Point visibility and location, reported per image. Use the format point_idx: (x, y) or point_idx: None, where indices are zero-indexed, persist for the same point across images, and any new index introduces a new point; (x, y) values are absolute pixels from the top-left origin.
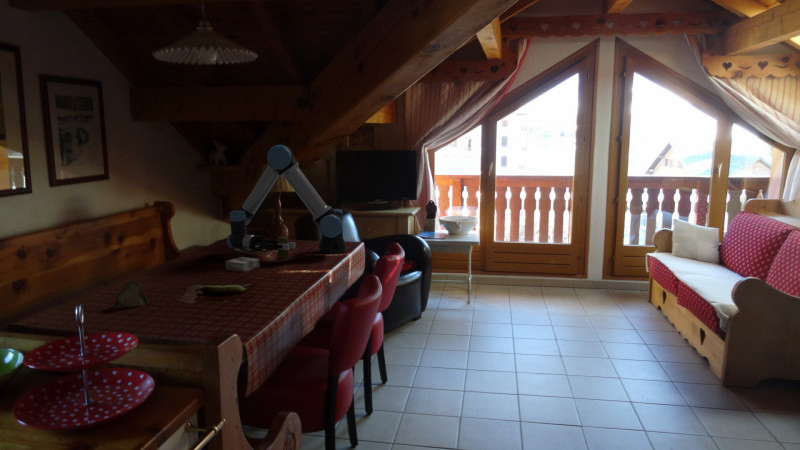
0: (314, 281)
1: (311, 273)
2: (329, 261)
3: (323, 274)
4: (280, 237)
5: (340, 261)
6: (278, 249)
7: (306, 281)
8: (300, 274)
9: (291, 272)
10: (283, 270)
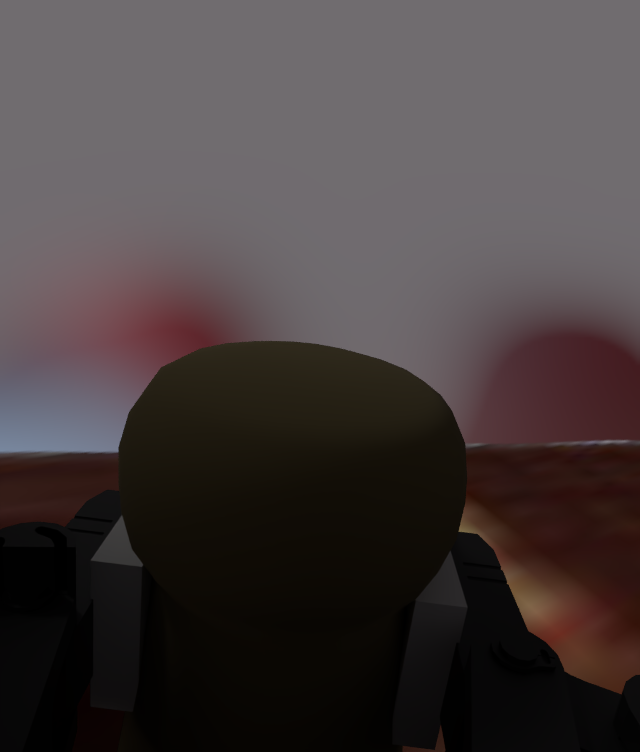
0: (589, 449)
1: (470, 492)
2: (7, 500)
3: None
4: (419, 382)
5: (14, 453)
6: (396, 750)
7: (627, 469)
8: (549, 529)
9: (565, 597)
10: None
